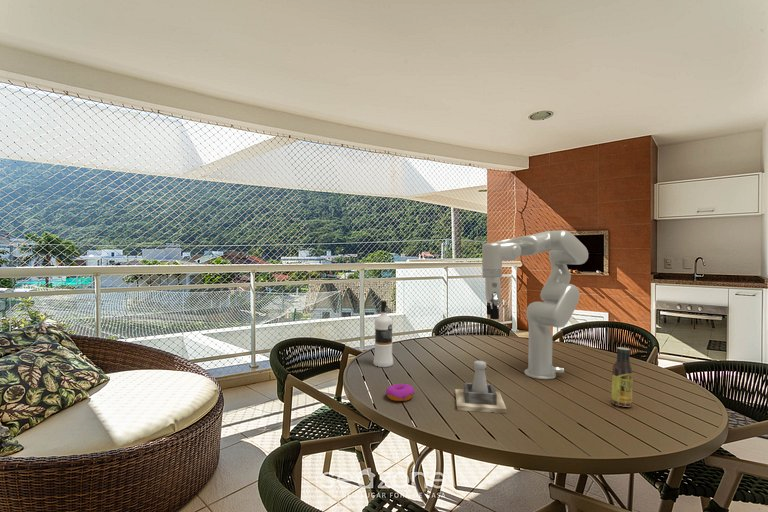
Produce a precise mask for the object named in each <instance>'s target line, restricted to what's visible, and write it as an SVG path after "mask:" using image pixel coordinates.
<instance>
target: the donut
mask: <svg viewBox="0 0 768 512" xmlns="http://www.w3.org/2000/svg"><path fill="white" fill-rule="evenodd" d="M414 394H415V389H414V387H413V386H412V385H411V384H407V383H396V384H392V385H389V386H388V387H387V388H386V390H385V396H386V397H387V398H388V399H390V400H391V401H395V402H406V401H410V400H411V399H412V398H413V395H414Z"/></svg>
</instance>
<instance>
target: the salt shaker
mask: <svg viewBox="0 0 768 512" xmlns="http://www.w3.org/2000/svg"><path fill="white" fill-rule="evenodd" d="M473 368H474V370H475V371H474V376H473V380H472V383H473V385H472V392H480V393H488V387H487V384H488V383H487V375H486V371H485V369H486V370H487V362H486V361H485V360H484V361H483V360H475V361H474V362H473Z"/></svg>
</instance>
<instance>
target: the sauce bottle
mask: <svg viewBox="0 0 768 512" xmlns="http://www.w3.org/2000/svg"><path fill="white" fill-rule="evenodd" d="M630 354H631V349H630V348H628V347H622V346H621V347H619V346H618V347H616V361H615V362H614V364H613V365H612V373H611V396H610V398H611V401H610V402H611V404H612V403H614V404H617V405H622V406H630V405H631V406H632V405H633V404H632V403H633V387H634V385H633V384H634V372H633V369H632V366H631V359H630Z"/></svg>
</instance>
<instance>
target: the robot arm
mask: <svg viewBox="0 0 768 512" xmlns="http://www.w3.org/2000/svg"><path fill="white" fill-rule="evenodd" d="M545 252H549V253H548V258H549V261H550V266H551V272H550V274H549V276H548V278H547V280H546V281H545V284H544V285H543V287H542V288H541V291H540V296H539V297H540V299H541V300H542V301H534V302H531V303H529V304H528V306H527V307H526V318H527V324H528V325H527V326H528V358H527V360H528V362H527V363H528V367H527V368H526V369H524V375H525V376H527V377H529V378H533V379H538V380H553V379H555V378H557V373H560V374H561V373H563V374H564V373H565V369H564V367H559V366H554V365H553V332H552V329H551V328H563V327H565V326H566V325H568V322H569V320H570V319H571V318H572V315H573V314H574V312H575V310H576V308H577V306H578V303H579V301H580V298H581V297H580V295H581V294H580V289H579V288H578V287H577V286H576V285H574V284H572V283H570V281H571V278H572V274H571V272H570V270H569V268H568V265H583V264H585V263H586V262H587V261H588V259H589V251H588V249H587V247H586V246H585V245H584V244H583V243H582V242H581V241H580V240H579V239H578V238H577V237H576V236H575V235H574V234H572V233H571V232H570V231H568V230H564V229H563V230H561V229H560V230H546V231H541V232H538V233H534V234H528V235H522V236H518V237H514V238H508V239H503V240H497V241H494V242H484V243H483V244H482V245H481V253H482V254H481V256H482V257H481V260H482V263H481V264H482V267H481V269H482V272H481V273H482V275H481V276H482V278H483V279H484V280H485V281H484V282H485V285H484V287H485V300H486V315H487V316H490V317H489V319H490V320H499V319H500V309H499V304H501V303H502V287H501V279H502V278H503V261H505V262H506V261H507V262H510V261H511V262H513V261H516V260H517V259H519V258H520V257H524V256H525V257H526V256H527V257H528V256H533V255H537V254H542V253H545Z"/></svg>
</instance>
